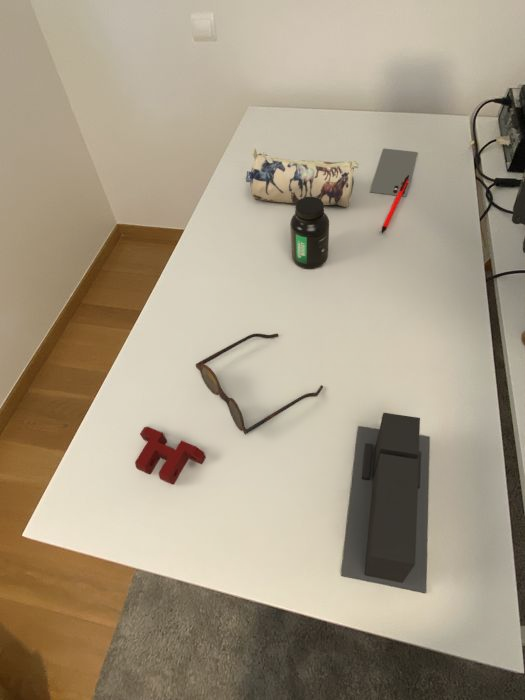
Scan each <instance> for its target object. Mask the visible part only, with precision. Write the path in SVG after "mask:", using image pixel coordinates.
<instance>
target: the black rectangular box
mask: <svg viewBox="0 0 525 700" xmlns="http://www.w3.org/2000/svg"><path fill="white" fill-rule="evenodd" d="M378 429H379V433H378V437H377V442H376V449H375V460H374V471H373V477H374V475H375V471H376V467H377V464H378V460H379V456H380V453H382V454H388V455H394V456H400V457H407V458H413V459H417V457H418V455H419V435H421V433H420V431H421V417H416V416H411V415H403V414H396V413H390V412H383V413H382V416H381V421H380V425H379V428H378Z"/></svg>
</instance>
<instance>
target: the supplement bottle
mask: <svg viewBox="0 0 525 700" xmlns="http://www.w3.org/2000/svg"><path fill="white" fill-rule="evenodd" d="M294 209H295V211H294V214H293V215H292V217H291V219H290V224H289V225H290V226H289V227H290V228H289V229H290V249H291V251H290V252H291V259H292V262H293V263H294V264H295V265H296V266H297V267H299V268H301V269H305V270H312V269H313V270H314V269H317V268H320V267H321V266H324V264H325V263H326V262H327V260H328V257H329V246H330V245H329V243H330V219H329V217H328V215H327V214H326V213H325V205H324V204H323V202H322V201H321V199H319V198H317V197H312V196H311V197H303V198H301V199H300V200H299V201H297V203H295V207H294Z"/></svg>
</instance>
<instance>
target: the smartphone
mask: <svg viewBox="0 0 525 700" xmlns="http://www.w3.org/2000/svg"><path fill="white" fill-rule="evenodd" d="M417 157H418V151H411V150H410V151H409V150H402V149H393V148H382V151H381V155H380V158H379V160H378V164H377V167H376V170H375V173H374V177H373V179H372V182H371V186H370V189H369V193H370V194H375V195H376V194H377V195H385V196H391V197H396V196H397V194H398V192H399V190H400V188H401V186H402V184H403V181H404V179H405V178H406V177H407V176H408V175H409V178H408V179H409V181H408V183H407V185H406V187H405V189H404V192H403V194H402V196H401V198H407V196H408V192H409V190H410V187H411V182H412V177H413V172H414V169H415V165H416V161H417Z"/></svg>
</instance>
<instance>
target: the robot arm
mask: <svg viewBox="0 0 525 700" xmlns="http://www.w3.org/2000/svg"><path fill="white" fill-rule="evenodd" d="M511 222H512V223H513V224H514V225H524V226H525V170H524V171H523V175H522V179H521V181H520V184H519V188H518V190H517V194H516V196H515V201H514V204H513V207H512V215H511ZM522 252H523V254H525V236H524V237H523V241H522Z"/></svg>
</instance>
